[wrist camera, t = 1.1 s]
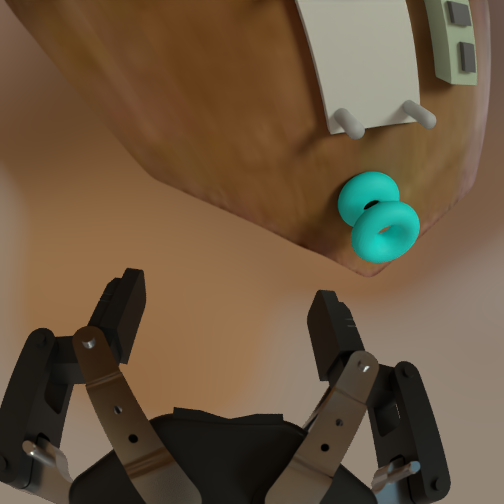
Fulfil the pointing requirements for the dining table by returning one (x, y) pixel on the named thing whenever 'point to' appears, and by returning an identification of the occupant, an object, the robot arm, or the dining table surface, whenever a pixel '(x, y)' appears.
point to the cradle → (364, 63)
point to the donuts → (377, 217)
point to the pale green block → (452, 41)
